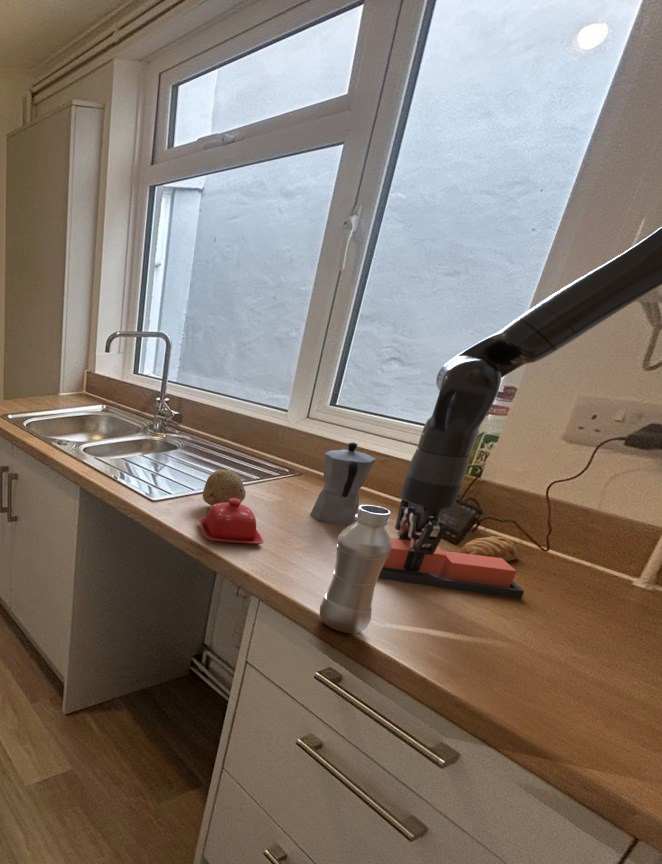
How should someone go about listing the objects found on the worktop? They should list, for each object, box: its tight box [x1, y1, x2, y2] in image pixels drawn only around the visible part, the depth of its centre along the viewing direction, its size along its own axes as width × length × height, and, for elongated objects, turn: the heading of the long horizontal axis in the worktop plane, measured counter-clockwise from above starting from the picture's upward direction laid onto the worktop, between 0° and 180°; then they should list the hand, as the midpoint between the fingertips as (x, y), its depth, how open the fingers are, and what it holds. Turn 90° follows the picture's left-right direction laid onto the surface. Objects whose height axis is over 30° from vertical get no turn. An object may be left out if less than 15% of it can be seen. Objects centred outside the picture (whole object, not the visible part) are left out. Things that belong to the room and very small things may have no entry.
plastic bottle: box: [319, 504, 392, 634], centre depth 79 cm, size 6×7×20 cm
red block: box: [439, 550, 518, 588], centre depth 93 cm, size 9×5×4 cm, turn 69°
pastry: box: [460, 535, 519, 562], centre depth 102 cm, size 9×7×4 cm
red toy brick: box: [383, 537, 447, 575], centre depth 96 cm, size 9×5×4 cm, turn 69°
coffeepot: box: [310, 442, 376, 527], centre depth 117 cm, size 15×9×18 cm, turn 153°
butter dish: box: [198, 498, 264, 545], centre depth 112 cm, size 12×12×8 cm
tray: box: [378, 567, 525, 600], centre depth 96 cm, size 22×10×2 cm, turn 69°
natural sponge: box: [202, 469, 247, 507], centre depth 125 cm, size 9×9×10 cm
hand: (405, 562), depth 97 cm, fingers closed on red toy brick, 5 cm apart
